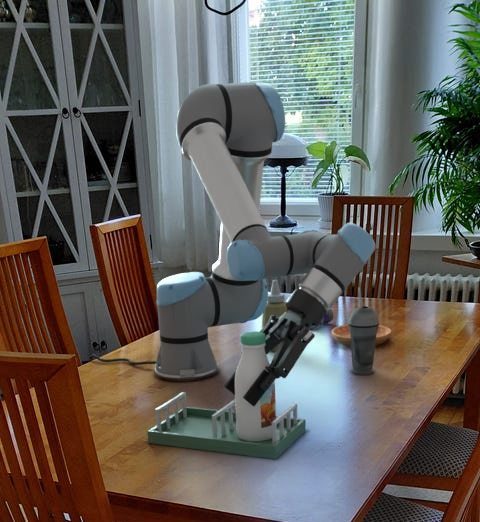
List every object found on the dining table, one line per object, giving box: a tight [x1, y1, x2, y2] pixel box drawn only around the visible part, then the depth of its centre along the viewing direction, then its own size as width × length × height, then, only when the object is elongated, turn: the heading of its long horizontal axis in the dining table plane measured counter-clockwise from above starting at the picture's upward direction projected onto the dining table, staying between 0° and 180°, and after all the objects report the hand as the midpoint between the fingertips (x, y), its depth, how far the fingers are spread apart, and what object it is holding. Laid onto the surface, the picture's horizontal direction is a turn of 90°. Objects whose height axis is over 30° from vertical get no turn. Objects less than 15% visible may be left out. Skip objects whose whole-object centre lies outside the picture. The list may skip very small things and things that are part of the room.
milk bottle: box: [234, 331, 277, 441], centre depth 165 cm, size 8×8×20 cm
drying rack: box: [147, 391, 307, 460], centre depth 171 cm, size 27×16×6 cm, turn 66°
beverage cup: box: [347, 286, 380, 376], centre depth 204 cm, size 7×7×20 cm
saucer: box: [331, 323, 392, 347], centre depth 234 cm, size 16×16×3 cm
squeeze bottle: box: [261, 279, 287, 352], centre depth 227 cm, size 8×8×18 cm
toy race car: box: [309, 308, 334, 331], centre depth 254 cm, size 10×15×6 cm, turn 54°
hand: (238, 396), depth 164 cm, fingers closed on milk bottle, 8 cm apart
